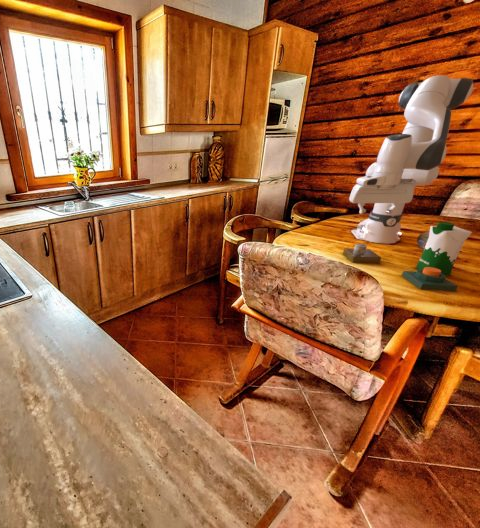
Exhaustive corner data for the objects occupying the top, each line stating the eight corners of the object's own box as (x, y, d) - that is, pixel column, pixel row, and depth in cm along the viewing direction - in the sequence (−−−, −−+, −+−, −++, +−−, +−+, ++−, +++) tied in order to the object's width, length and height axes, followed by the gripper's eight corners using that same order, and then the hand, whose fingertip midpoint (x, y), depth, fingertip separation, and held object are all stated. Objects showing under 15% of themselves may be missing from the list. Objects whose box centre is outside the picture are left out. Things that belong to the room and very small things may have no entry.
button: (419, 271, 104) (421, 266, 103) (433, 272, 103) (435, 267, 102) (427, 276, 100) (429, 271, 99) (442, 277, 99) (444, 272, 98)
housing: (401, 275, 109) (404, 266, 107) (432, 277, 107) (436, 268, 105) (420, 289, 99) (424, 279, 98) (455, 291, 97) (460, 281, 95)
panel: (339, 254, 131) (341, 247, 130) (367, 255, 128) (369, 248, 127) (350, 262, 122) (352, 256, 121) (380, 264, 119) (382, 257, 118)
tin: (413, 245, 136) (420, 229, 132) (419, 245, 136) (426, 228, 132) (448, 257, 122) (457, 239, 118) (455, 256, 122) (463, 238, 119)
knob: (355, 254, 122) (357, 245, 120) (351, 251, 126) (353, 242, 124) (365, 255, 121) (368, 246, 119) (361, 252, 124) (364, 243, 123)
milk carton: (411, 266, 115) (429, 220, 107) (437, 267, 114) (457, 220, 105) (427, 276, 108) (448, 226, 99) (455, 277, 106) (479, 226, 98)
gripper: (412, 177, 110) (400, 211, 115) (352, 179, 115) (343, 211, 121) (423, 179, 104) (410, 215, 110) (359, 181, 109) (350, 215, 115)
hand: (375, 213), depth 115 cm, fingers open, 8 cm apart
